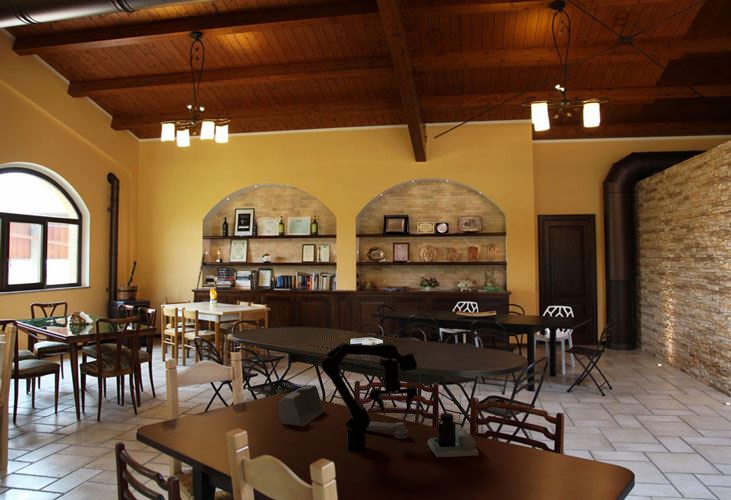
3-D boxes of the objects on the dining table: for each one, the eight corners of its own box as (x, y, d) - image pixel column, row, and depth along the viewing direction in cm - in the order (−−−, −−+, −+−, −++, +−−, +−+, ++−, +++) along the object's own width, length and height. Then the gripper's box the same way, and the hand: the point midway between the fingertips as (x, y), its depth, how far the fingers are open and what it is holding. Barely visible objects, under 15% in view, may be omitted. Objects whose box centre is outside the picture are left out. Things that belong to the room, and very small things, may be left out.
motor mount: (436, 457, 192) (436, 439, 192) (427, 443, 206) (427, 427, 206) (478, 455, 194) (478, 437, 194) (466, 442, 208) (466, 426, 208)
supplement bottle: (434, 444, 200) (434, 413, 201) (447, 441, 204) (447, 410, 204) (446, 450, 195) (446, 418, 195) (459, 446, 198) (459, 415, 199)
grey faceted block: (294, 408, 254) (294, 383, 255) (324, 411, 249) (324, 385, 249) (269, 423, 231) (269, 395, 231) (301, 427, 226) (302, 398, 226)
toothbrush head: (356, 418, 226) (408, 419, 214) (358, 434, 225) (410, 435, 214) (350, 422, 221) (403, 422, 210) (352, 438, 221) (405, 439, 209)
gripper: (415, 367, 213) (420, 404, 213) (371, 371, 216) (375, 408, 216) (414, 374, 202) (419, 414, 202) (367, 378, 205) (372, 417, 205)
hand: (396, 413), depth 207 cm, fingers open, 9 cm apart
